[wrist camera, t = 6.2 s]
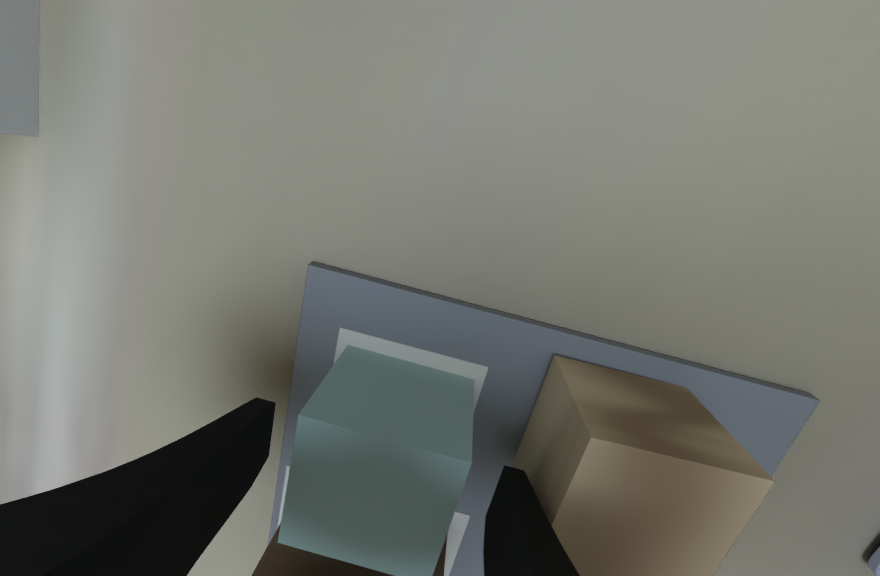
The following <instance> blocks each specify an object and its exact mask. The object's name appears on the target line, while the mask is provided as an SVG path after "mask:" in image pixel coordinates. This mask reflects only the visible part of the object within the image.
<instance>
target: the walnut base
mask: <svg viewBox="0 0 880 576" xmlns="http://www.w3.org/2000/svg"><path fill="white" fill-rule="evenodd" d="M280 525H281V523H280ZM280 525H279V526H278V528H277V530H276V532H275V534H274V536H273V537H272V539H271V541H270V543H269V545H268V547H267V548H266V550H265V552H264V554H263V556H262V558H261V559H260V561H259V563H258V565H257V567H256V569H255V570H254V572H253V574H252V576H394V575H391V574H387V573H384V572H380V571H376V570H373V569H369V568H366V567H362V566H359V565H355V564H352V563H348V562H345V561H341V560H337V559H334V558H330V557H327V556H323V555H320V554H316V553H313V552H309V551H305V550H302V549H298V548H295V547H291V546H288V545H284V544H281V543H278V537H279V531H280ZM447 534H448V533H447ZM446 545H447V536H446V539H445V541H444V544H443V547H442V550H441V553H440V556H439V559H438V561H437V564H436V567H435V570H434V573H433V576H444V567H445V556H446Z"/></svg>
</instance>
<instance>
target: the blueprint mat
mask: <svg viewBox="0 0 880 576" xmlns="http://www.w3.org/2000/svg"><path fill="white" fill-rule="evenodd" d="M347 345H351V346H355V347H359V348H362V349H366V350H369V351H373V352H377V353H380V354H384V355H388V356H391V357H395V358H398V359H402V360H406V361H409V362H413V363H417V364H420V365H424V366H428V367H431V368H435V369H438V370H442V371H446V372H449V373H453V374H457V375H460V376H464V377H468V378H471V379H475V380H474V411H473V443H472V464H471V467H470V470H469V473H468V475H467V478H466V481H465V484H464V487H463V490H462V493H461V496H460V498H459V501H458V504H457V507H456V510H455V513H454V516H453V518H452V521H451V524H450V527H449V530H448V534H447V545H446V556H445V567H444V576H484V560H483V547H484V530H485V516H486V513H487V510H488V508H489V505H490V502H491V500H492V497H493V494H494V492H495V489H496V486H497V483H498V481H499V478H500V475H501V473H502V470H503V467H504V465H506V466H510V467H513V461H514V459H515V456H516V454H517V451H518V448H519V446H520V443H521V440H522V438H523V435H524V433H525V430H526V427H527V425H528V422H529V419H530V417H531V414H532V411H533V409H534V406H535V404H536V401H537V398H538V396H539V393H540V390H541V388H542V385H543V382H544V380H545V377H546V375H547V372H548V369H549V367H550V364H551V361H552V359H553V356H554V355H556V356H560V357H564V358H569V359H573V360H577V361H581V362H585V363H589V364H593V365H597V366H601V367H605V368H609V369H613V370H618V371H622V372H626V373H630V374H634V375H638V376H642V377H646V378H650V379H654V380H658V381H662V382H667V383H671V384H675V385H679V386H683V387H687V389H688V390H689V391H690V392H691V393H692V394H693V395H694V396H695V397H696V398H697V399H698V400H699V401H700V402H701V403H702V404H703V406H704V407H705V408H706V409H707V410H708V411H709V412H710V413H711V414H712V415H713V416H714V417H715V418H716V419H717V420H718V421H719V422H720V424H721V425H722V426H723V427H724V428H725V429H726V430H727V431H728V432H729V433H730V434H731V435H732V436H733V437H734V438H735V439H736V440H737V442H738V443H739V444H740V445H741V446H742V447H743V448H744V449H745V450H746V451H747V452H748V453H749V454H750V455H751V456H752V457H753V458H754V460H755V461H756V462H757V463H758V464H759V465H760V466H761V467H762V468H763V469H764V470H765V471H766V472H767V473H768V474H769V475H770V477H771V475H772V474H773V472H774V471H775V469H776V468H777V466H778V464H779V463H780V461H781V460H782V458H783V457H784V455H785V454H786V452H787V451H788V449H789V448H790V446H791V444H792V443H793V441H794V440H795V438H796V437H797V435H798V434H799V432H800V431H801V429H802V428H803V426H804V425H805V423H806V421H807V420H808V418H809V417H810V415H811V414H812V412H813V411H814V409H815V408H816V406H817V405H818V403H819V402H820V400H819V399H817V398H816V397H814V396H813V395H812V394H810V393H806V392H802V391H799V390H795V389H791V388H787V387H784V386H780V385H776V384H772V383H768V382H765V381H761V380H757V379H753V378H750V377H746V376H742V375H738V374H735V373H731V372H727V371H723V370H719V369H716V368H712V367H708V366H704V365H701V364H697V363H693V362H689V361H686V360H682V359H678V358H674V357H670V356H667V355H663V354H659V353H655V352H652V351H648V350H644V349H640V348H637V347H633V346H629V345H625V344H622V343H618V342H614V341H610V340H606V339H603V338H599V337H595V336H591V335H588V334H584V333H580V332H576V331H573V330H569V329H565V328H561V327H557V326H554V325H550V324H546V323H542V322H539V321H535V320H531V319H527V318H524V317H520V316H516V315H512V314H508V313H505V312H501V311H497V310H493V309H490V308H486V307H482V306H478V305H475V304H471V303H467V302H463V301H459V300H456V299H452V298H448V297H444V296H441V295H437V294H433V293H429V292H426V291H422V290H418V289H414V288H410V287H407V286H403V285H399V284H395V283H392V282H388V281H384V280H380V279H377V278H373V277H369V276H365V275H361V274H358V273H354V272H350V271H346V270H343V269H339V268H335V267H331V266H328V265H324V264H320V263H316V262H312V263H310V264H308V269H307V276H306V283H305V290H304V297H303V304H302V311H301V318H300V325H299V332H298V339H297V346H296V353H295V360H294V367H293V374H292V381H291V388H290V395H289V402H288V409H287V416H286V423H285V430H284V437H283V444H282V451H281V458H280V465H279V472H278V479H277V486H276V493H275V500H274V507H273V514H272V521H271V528H270V535H269V542H268V545H269V543H270V541H271V539H272V537H273V536H274V534H275V532H276V530H277V528H278V526H279V525H280V523H281V519H282V513H283V507H284V501H285V494H286V488H287V482H288V476H289V470H290V464H291V458H292V452H293V446H294V439H295V433H296V427H297V421H298V415H299V413H300V412H301V411H302V409H303V408H304V406H305V405H306V403H307V402H308V401H309V399H310V398H311V396H312V395H313V393H314V392H315V391H316V389H317V388H318V386H319V385H320V384H321V382H322V381H323V379H324V378H325V376H326V375H327V374H328V372H329V371H330V369H331V368H332V366H333V365H334V364H335V362H336V361H337V359H338V358H339V356H340V355H341V354H342V352H343V351H344V349H345V348H346V347H347ZM513 468H514V467H513Z"/></svg>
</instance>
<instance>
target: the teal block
mask: <svg viewBox="0 0 880 576" xmlns="http://www.w3.org/2000/svg"><path fill="white" fill-rule="evenodd" d="M474 380H475V379H471V378H468V377H464V376H460V375H457V374H453V373H449V372H446V371H442V370H438V369H435V368H431V367H428V366H424V365H420V364H417V363H413V362H409V361H406V360H402V359H398V358H395V357H391V356H388V355H384V354H380V353H377V352H373V351H369V350H366V349H362V348H359V347H355V346H351V345H347V347H346V348H345V349H344V351H343V352H342V354H341V355H340V356H339V358H338V359H337V361H336V362H335V364H334V365H333V366H332V368H331V369H330V371H329V372H328V374H327V375H326V376H325V378H324V379H323V381H322V382H321V384H320V385H319V386H318V388H317V389H316V391H315V392H314V393H313V395H312V396H311V398H310V399H309V401H308V402H307V403H306V405H305V406H304V408H303V409H302V411H301V412H300V413H299V415H298V421H297V427H296V433H295V439H294V446H293V452H292V458H291V464H290V470H289V476H288V482H287V488H286V494H285V501H284V507H283V513H282V519H281V525H280V531H279V537H278V543H281V544H284V545H288V546H291V547H295V548H298V549H302V550H305V551H309V552H313V553H316V554H320V555H323V556H327V557H330V558H334V559H337V560H341V561H345V562H348V563H352V564H355V565H359V566H362V567H366V568H369V569H373V570H376V571H380V572H384V573H387V574H391V575H394V576H433V573H434V570H435V567H436V564H437V561H438V559H439V556H440V553H441V550H442V547H443V544H444V541H445V539H446V536H447V533H448V530H449V527H450V524H451V521H452V518H453V516H454V513H455V510H456V507H457V504H458V501H459V498H460V496H461V493H462V490H463V487H464V484H465V481H466V478H467V475H468V473H469V470H470V467H471V464H472V443H473V411H474Z"/></svg>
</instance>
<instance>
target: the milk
mask: <svg viewBox="0 0 880 576" xmlns="http://www.w3.org/2000/svg"><path fill="white" fill-rule="evenodd" d="M39 42H40V0H0V133H2V134H14V135H25V136H37V137H39Z"/></svg>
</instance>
